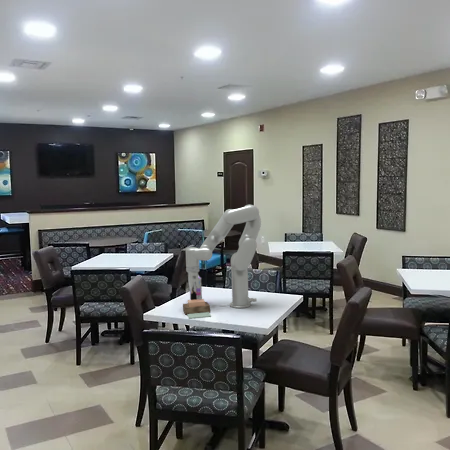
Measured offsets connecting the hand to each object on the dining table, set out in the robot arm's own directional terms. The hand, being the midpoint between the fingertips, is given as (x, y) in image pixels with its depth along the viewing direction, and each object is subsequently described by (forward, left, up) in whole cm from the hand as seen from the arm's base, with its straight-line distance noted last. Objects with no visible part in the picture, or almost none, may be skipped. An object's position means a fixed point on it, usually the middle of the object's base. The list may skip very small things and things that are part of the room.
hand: (193, 299), depth 273 cm
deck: (0, +8, -5) cm, 9 cm away
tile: (0, +9, 0) cm, 9 cm away
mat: (0, +17, -5) cm, 17 cm away
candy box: (-3, -11, -5) cm, 13 cm away
